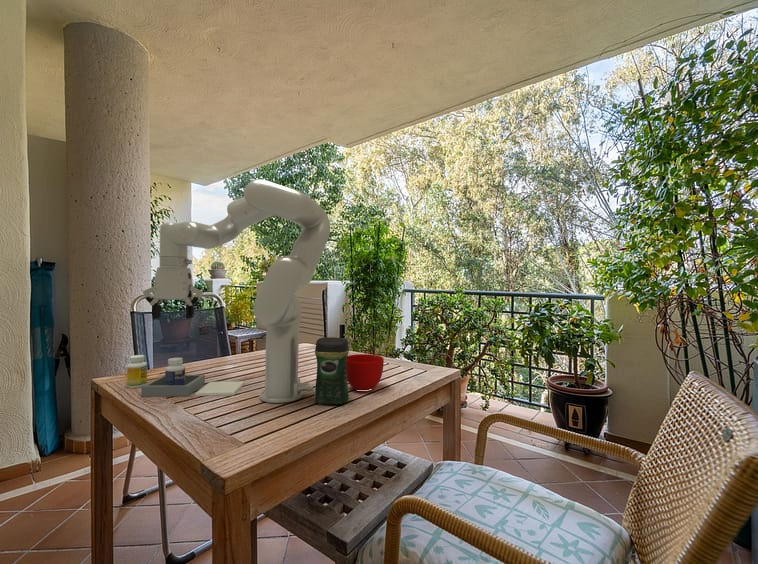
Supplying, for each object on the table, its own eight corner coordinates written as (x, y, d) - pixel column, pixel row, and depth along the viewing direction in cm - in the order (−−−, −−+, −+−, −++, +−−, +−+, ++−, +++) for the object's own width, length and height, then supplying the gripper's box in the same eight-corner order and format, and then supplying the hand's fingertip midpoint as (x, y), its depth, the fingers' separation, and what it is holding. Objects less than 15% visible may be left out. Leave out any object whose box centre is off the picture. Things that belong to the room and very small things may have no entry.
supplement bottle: (131, 383, 118) (131, 354, 118) (149, 383, 119) (150, 354, 119) (123, 388, 112) (123, 358, 112) (142, 387, 114) (143, 357, 114)
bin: (204, 383, 119) (204, 374, 119) (187, 396, 106) (187, 386, 106) (163, 384, 118) (163, 375, 118) (141, 396, 105) (141, 386, 105)
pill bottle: (175, 393, 109) (176, 361, 109) (160, 391, 110) (161, 360, 110) (188, 388, 114) (189, 357, 114) (174, 386, 115) (174, 356, 115)
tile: (244, 383, 120) (244, 381, 120) (233, 395, 108) (233, 392, 108) (210, 384, 119) (210, 381, 119) (195, 395, 107) (195, 393, 107)
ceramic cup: (381, 380, 127) (382, 352, 127) (384, 395, 110) (384, 362, 110) (345, 379, 127) (345, 351, 127) (342, 395, 110) (342, 362, 110)
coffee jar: (350, 398, 107) (351, 336, 107) (345, 407, 99) (346, 340, 99) (318, 396, 108) (320, 335, 108) (311, 405, 100) (312, 339, 100)
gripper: (207, 264, 116) (206, 317, 116) (150, 263, 114) (150, 317, 114) (197, 263, 108) (197, 319, 108) (137, 262, 107) (136, 319, 107)
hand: (173, 318), depth 111 cm, fingers open, 9 cm apart
